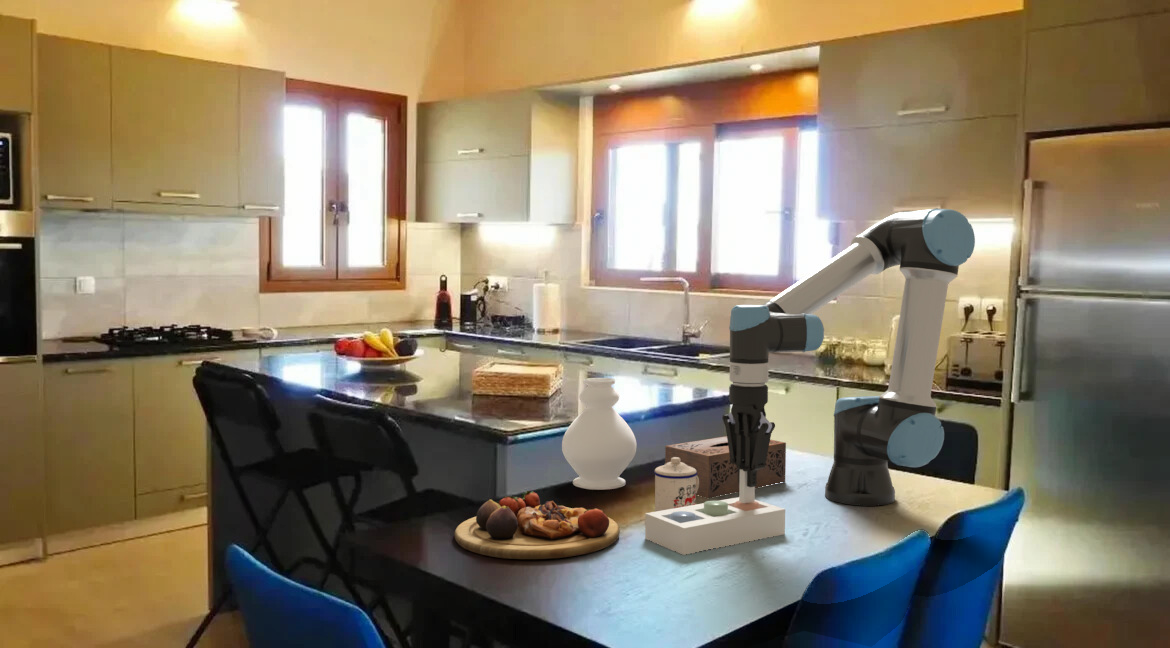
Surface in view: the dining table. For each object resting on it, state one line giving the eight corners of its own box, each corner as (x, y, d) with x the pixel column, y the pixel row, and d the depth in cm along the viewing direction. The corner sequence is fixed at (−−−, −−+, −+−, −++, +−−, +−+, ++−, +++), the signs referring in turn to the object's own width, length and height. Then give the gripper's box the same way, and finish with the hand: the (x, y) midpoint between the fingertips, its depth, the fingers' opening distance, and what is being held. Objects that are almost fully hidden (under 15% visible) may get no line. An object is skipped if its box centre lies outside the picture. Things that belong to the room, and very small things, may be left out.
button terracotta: (747, 518, 195) (748, 499, 195) (763, 523, 191) (763, 503, 191) (730, 521, 193) (730, 502, 192) (745, 527, 189) (746, 507, 188)
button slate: (685, 530, 187) (685, 510, 186) (700, 536, 183) (700, 515, 182) (666, 534, 184) (666, 513, 184) (680, 540, 180) (681, 519, 180)
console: (743, 520, 199) (743, 496, 199) (784, 534, 189) (785, 509, 189) (645, 538, 186) (645, 513, 186) (683, 555, 176) (684, 528, 176)
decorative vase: (649, 480, 234) (650, 378, 233) (611, 496, 219) (612, 386, 218) (587, 472, 244) (587, 373, 242) (547, 486, 229) (547, 381, 227)
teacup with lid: (677, 520, 200) (678, 464, 199) (645, 511, 206) (645, 457, 205) (714, 509, 208) (714, 456, 207) (681, 501, 214) (681, 449, 214)
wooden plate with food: (653, 537, 188) (653, 495, 188) (531, 574, 165) (531, 526, 165) (542, 510, 211) (542, 473, 210) (421, 539, 188) (421, 497, 188)
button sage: (717, 519, 191) (717, 499, 190) (732, 524, 187) (732, 504, 187) (698, 522, 188) (699, 502, 188) (714, 528, 184) (714, 507, 184)
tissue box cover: (741, 472, 244) (741, 433, 244) (785, 483, 233) (785, 442, 232) (665, 487, 229) (665, 445, 228) (708, 499, 217) (708, 456, 217)
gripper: (712, 381, 193) (711, 497, 195) (757, 388, 182) (755, 511, 184) (740, 378, 197) (739, 492, 199) (786, 386, 186) (784, 506, 188)
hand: (746, 501), depth 192 cm, fingers closed
